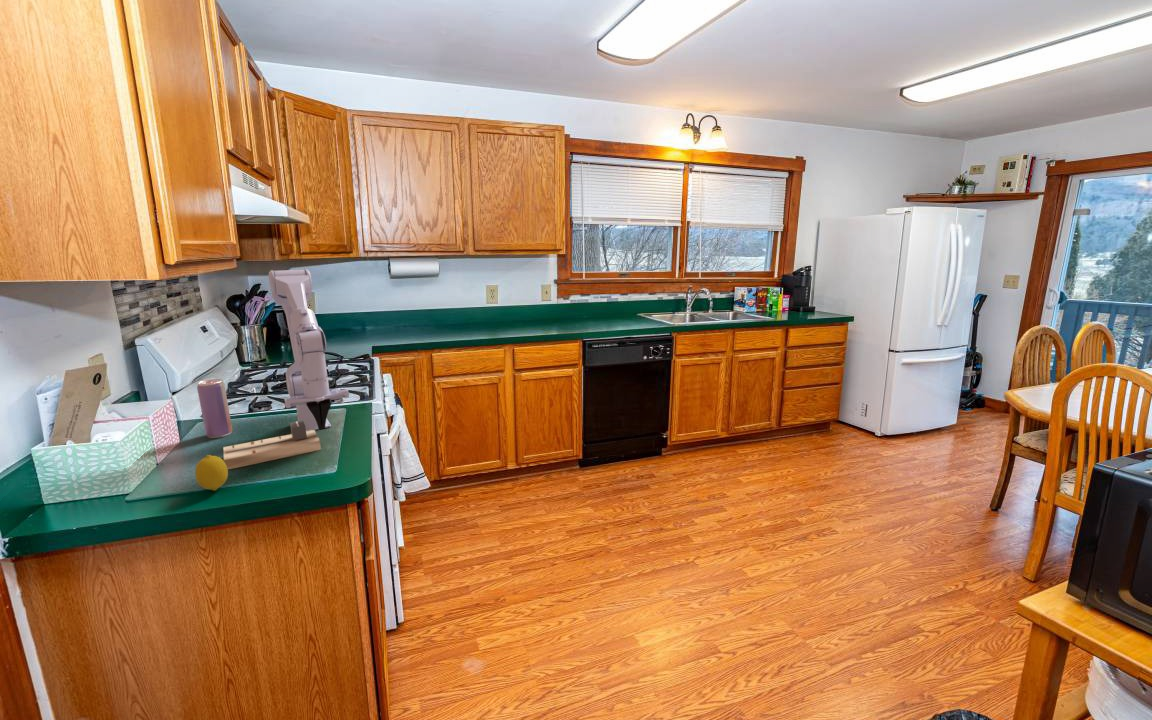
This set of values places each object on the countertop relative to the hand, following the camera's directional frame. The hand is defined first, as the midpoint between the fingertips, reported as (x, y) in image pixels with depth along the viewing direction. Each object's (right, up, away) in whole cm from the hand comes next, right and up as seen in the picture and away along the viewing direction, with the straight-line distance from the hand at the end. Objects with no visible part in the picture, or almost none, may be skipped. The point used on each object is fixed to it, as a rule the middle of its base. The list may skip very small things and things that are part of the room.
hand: (321, 428), depth 132 cm
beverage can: (-31, -3, +7) cm, 32 cm away
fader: (-4, -2, -3) cm, 5 cm away
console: (-9, -5, -5) cm, 12 cm away
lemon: (-11, -10, -24) cm, 28 cm away
